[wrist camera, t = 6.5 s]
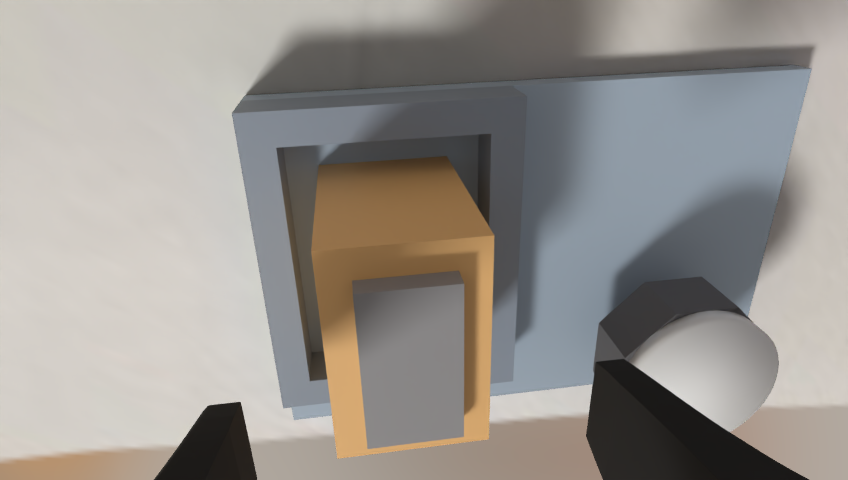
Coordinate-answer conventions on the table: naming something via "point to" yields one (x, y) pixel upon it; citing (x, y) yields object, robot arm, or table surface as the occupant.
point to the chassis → (535, 198)
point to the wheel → (693, 347)
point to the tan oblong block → (403, 304)
